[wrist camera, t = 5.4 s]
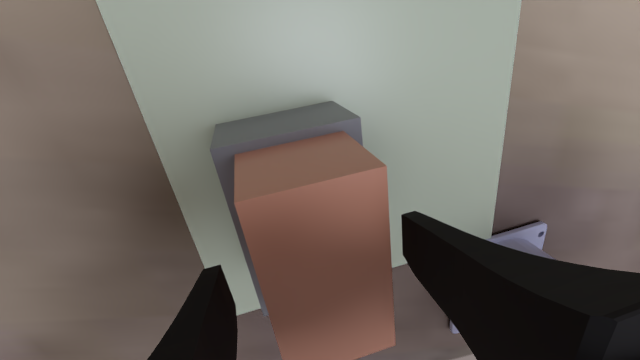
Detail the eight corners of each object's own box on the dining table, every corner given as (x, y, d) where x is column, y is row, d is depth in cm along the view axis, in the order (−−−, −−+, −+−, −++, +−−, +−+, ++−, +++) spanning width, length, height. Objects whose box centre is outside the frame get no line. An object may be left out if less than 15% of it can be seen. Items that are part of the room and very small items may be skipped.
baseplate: (487, 234, 23) (491, 237, 23) (225, 314, 20) (225, 319, 20) (534, -158, 14) (542, -163, 13) (48, -126, 11) (42, -131, 10)
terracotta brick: (359, 277, 16) (395, 345, 12) (277, 303, 15) (289, 382, 12) (343, 130, 12) (386, 165, 9) (234, 154, 12) (234, 202, 8)
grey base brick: (349, 239, 20) (374, 282, 16) (258, 265, 19) (263, 316, 15) (332, 100, 16) (360, 117, 12) (215, 124, 15) (209, 149, 11)
